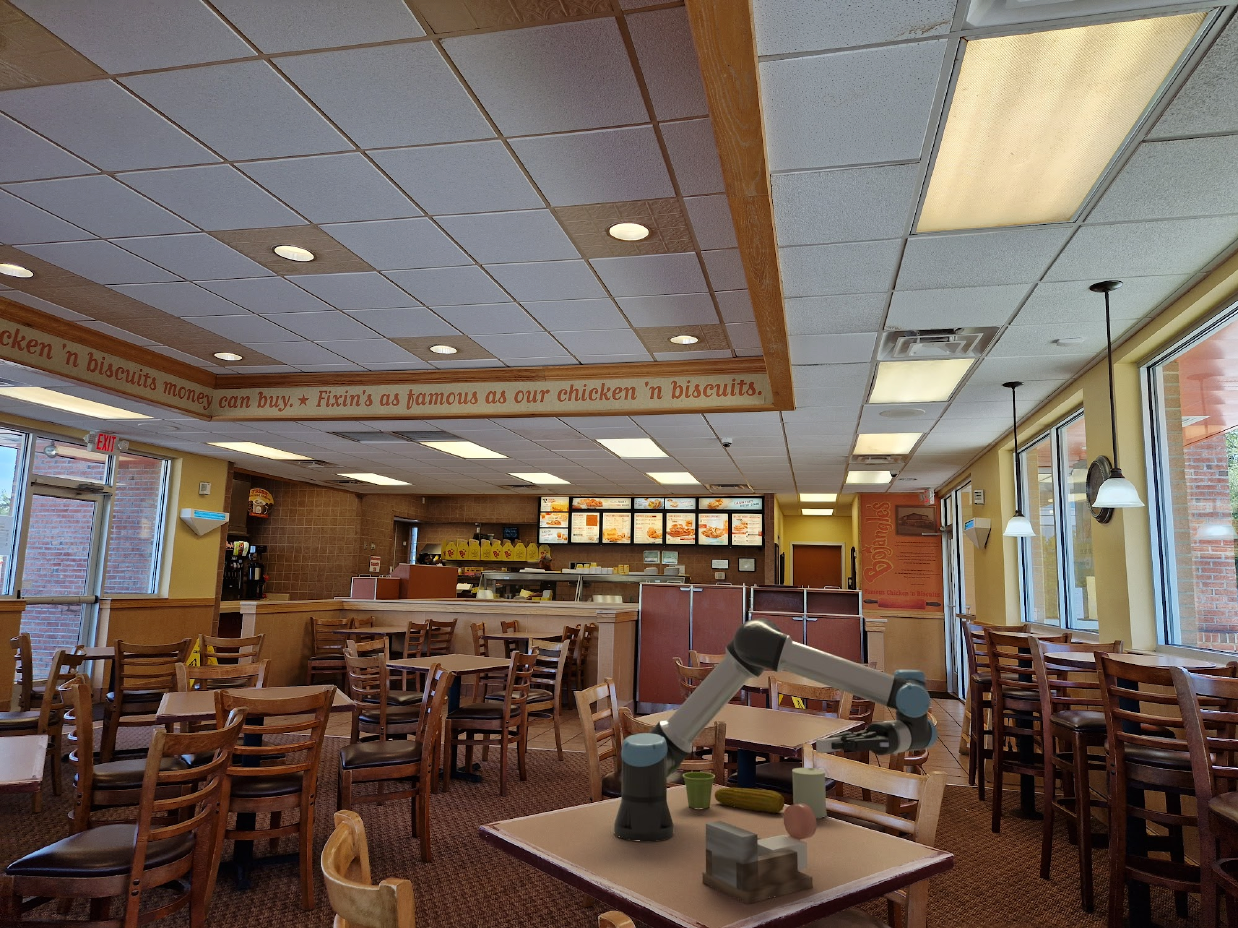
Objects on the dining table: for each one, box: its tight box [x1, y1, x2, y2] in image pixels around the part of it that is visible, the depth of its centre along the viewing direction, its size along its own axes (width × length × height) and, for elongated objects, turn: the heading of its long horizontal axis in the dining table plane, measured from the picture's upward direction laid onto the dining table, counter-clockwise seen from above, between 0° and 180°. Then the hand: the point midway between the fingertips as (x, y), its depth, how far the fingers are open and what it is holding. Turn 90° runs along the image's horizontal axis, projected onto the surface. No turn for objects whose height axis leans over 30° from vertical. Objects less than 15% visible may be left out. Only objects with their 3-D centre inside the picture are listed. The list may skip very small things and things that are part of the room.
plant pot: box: [682, 771, 716, 809], centre depth 227 cm, size 9×9×9 cm
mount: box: [701, 820, 814, 905], centre depth 165 cm, size 18×14×12 cm
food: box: [714, 787, 785, 814], centre depth 226 cm, size 21×6×6 cm, turn 58°
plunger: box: [758, 803, 817, 872], centre depth 170 cm, size 13×7×12 cm, turn 123°
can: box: [791, 767, 828, 820], centre depth 221 cm, size 9×9×12 cm
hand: (818, 746), depth 179 cm, fingers closed
